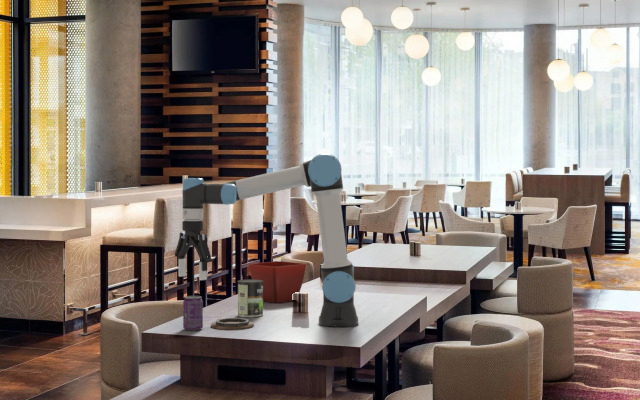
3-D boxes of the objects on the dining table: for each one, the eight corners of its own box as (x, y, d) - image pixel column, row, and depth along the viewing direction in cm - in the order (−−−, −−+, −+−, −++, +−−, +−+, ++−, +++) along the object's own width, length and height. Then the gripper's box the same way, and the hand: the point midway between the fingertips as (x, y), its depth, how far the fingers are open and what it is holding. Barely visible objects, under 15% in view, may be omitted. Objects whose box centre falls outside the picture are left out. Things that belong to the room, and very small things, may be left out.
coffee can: (266, 313, 341) (266, 279, 341) (259, 317, 331) (259, 282, 331) (241, 312, 343) (241, 278, 343) (234, 317, 333) (234, 281, 333)
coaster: (262, 326, 312) (262, 321, 312) (227, 331, 301) (227, 326, 301) (236, 320, 324) (236, 315, 324) (202, 325, 313) (202, 320, 313)
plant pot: (247, 300, 378) (247, 263, 378) (280, 296, 391) (280, 260, 391) (274, 305, 364) (274, 266, 364) (307, 301, 377) (307, 263, 377)
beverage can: (193, 327, 310) (193, 294, 310) (206, 329, 306) (206, 296, 305) (179, 329, 305) (179, 297, 304) (192, 332, 300) (192, 298, 300)
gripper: (165, 218, 311) (165, 275, 311) (203, 222, 293) (203, 282, 293) (182, 218, 316) (182, 274, 317) (221, 221, 298) (220, 280, 298)
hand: (192, 278), depth 305 cm, fingers open, 13 cm apart
